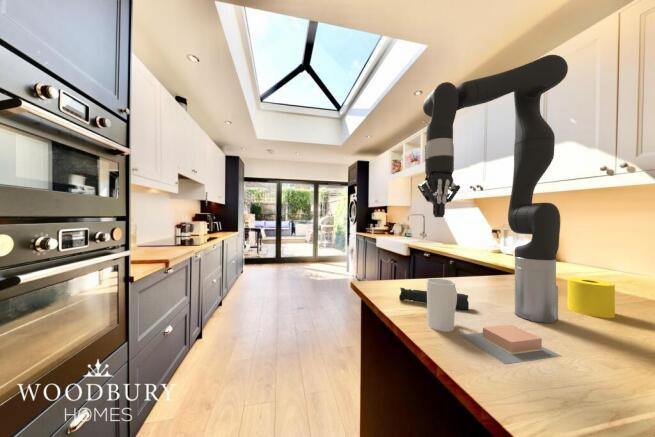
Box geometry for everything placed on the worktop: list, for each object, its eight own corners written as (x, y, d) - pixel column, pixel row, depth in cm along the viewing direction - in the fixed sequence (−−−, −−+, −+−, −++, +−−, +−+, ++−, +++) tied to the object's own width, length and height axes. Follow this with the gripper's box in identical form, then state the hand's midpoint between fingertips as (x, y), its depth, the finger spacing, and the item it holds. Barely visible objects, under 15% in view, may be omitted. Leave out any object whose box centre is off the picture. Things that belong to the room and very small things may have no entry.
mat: (506, 331, 62) (506, 329, 62) (561, 357, 50) (561, 355, 50) (459, 336, 59) (458, 335, 59) (505, 366, 47) (505, 363, 47)
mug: (443, 335, 59) (444, 286, 59) (420, 325, 65) (421, 280, 65) (468, 327, 64) (468, 281, 64) (445, 318, 70) (445, 276, 70)
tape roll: (625, 318, 71) (625, 285, 71) (590, 317, 71) (590, 285, 71) (589, 306, 81) (589, 277, 81) (558, 305, 81) (558, 277, 81)
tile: (482, 338, 57) (510, 335, 59) (511, 354, 50) (541, 350, 52) (482, 327, 57) (510, 324, 59) (511, 342, 50) (541, 338, 52)
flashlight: (468, 313, 74) (469, 297, 74) (398, 303, 83) (399, 288, 83) (467, 308, 79) (467, 292, 79) (401, 298, 88) (401, 284, 88)
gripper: (449, 162, 76) (449, 217, 76) (411, 158, 73) (411, 216, 73) (468, 155, 69) (468, 217, 68) (427, 152, 65) (426, 216, 65)
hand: (438, 217), depth 71 cm, fingers closed
